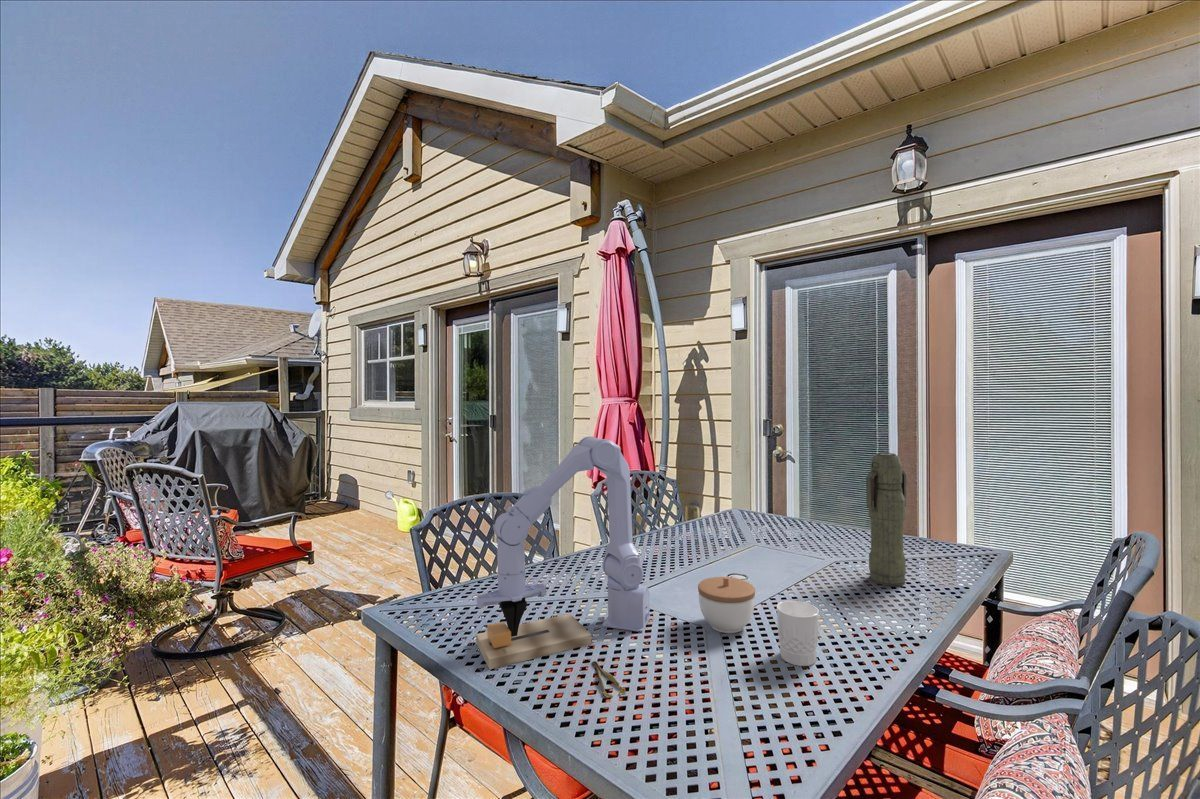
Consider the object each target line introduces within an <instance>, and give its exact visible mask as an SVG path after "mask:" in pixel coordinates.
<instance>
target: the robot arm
mask: <svg viewBox="0 0 1200 799" xmlns="http://www.w3.org/2000/svg"><path fill="white" fill-rule="evenodd" d="M621 450H622V448H621V446H620V445H618V444H616V443H615V442H614V441H612V440H610V439H607V438H606V439H605V438H604V439H603V438H599V437H598V438H597V437H594V436H585V437H583V438H582V439H581V440H579V441H578V443H577V444H576V445H574V446H573V447H571V449H570V451H569V452H568V454H567V455H566V456H565V458H563V460H562V461H561V462H560V463H559V464H558V466H557V467H556V468H554V470H553V471H552V472H551V473H550V474H549V475H548V477H547V478H546V479H545V480H544V481H543V482H542V484H540V485H532V486H531V487H530V488H525V489H524V490H523V492H522V493H523V495H522V496H521V497H520V498H519V499H518V500H517V501H516V502H515V503H514V504H513V505H512V506H511V505H510V506H509V507H508V508H507V509H506V510H507V511H506V512H503V513H501V514H500V515H499V516H497V518H496V520H495V521H494V522H495V523H494V525H492V529H493V532H494V534H495V535H496V536H497V537H496V538H497V540H496V541H497V542H496V543H497V549H496V554H497V557H496V558H497V559H496V560H497V589H496V590H493V591H490V592H488V593H485V594H479V595H476V606H477V609H483V608H485V607H488V606H492V605H497V604H498V605H499V608H500V610H501V612H502V614H503V617H504V618H505V622H506V626H507V627H508V629H509V630H510V631H511V637H513V636H517V634H518V628H519V625H520V623H521V620H522V617H523V614H524V613H525V611H526V610H527V607H528V606H527V605H528V601H526V599H528V598H534V597H538V596H540V597H545V596H547V587H546V585H545V584H544V583H540V584H526V557H525V554H526V553H525V551H526V550H525V540H526V539H527V538H528V535H529V530H530V527H532V526H533V524H535V522H537V521H538V519H539V518H540V517H541V516H542V515H544V513H545V512H546V511H547V510H548V508H550V507H551V506H552V498H553V496H554V495H555V494H556V493H557V492H558V491H559V490H560V489H561V488H563V487H564V485H565V484H566V483H568V482H569V481H570V480H571V479H572V478H573V477H574V476H575V475H576V474H578V472H582V471H583V472H585V471H589V470H594V469H597V470H599V471H600V472H601V473H602V474H604V476H605V477H606V490H607V491H606V492H607V511H608V512H607V513H608V515H607V516H608V534H609V536H608V538H609V539H608V540H609V542H608V544H607V546H605V555H604V558H603V560H602V570H603V573H604V574H605V575H606V576H607V611H608V612H607V615H608V616H607V617H606V619H605V620H604V622H603V623H602V627H603V628H611V629H617V630H624V631H631V632H632V631H633V632H638V633H639V631H640V633H642V632H643V631H644V630H645V628H646V626H647V624H648V623H649V621H650V619H651V615H650V611H651V610H650V590H649V587H648V586H645V585H643V584H642V585H641V582H642V581H643V579H644V573H645V571H644V568H643V566H642V563H641V560H640V554H639V551H638V550H637V548H636V547H635V544H634V543H633V542H634V541H633V540H634V539H633V519H632V518H633V517H632V494H631V493H632V492H631V472H630V471H631V470H630V465H629V464H628V462H627V460H626V458H625V457H624V455H623V454H622V452H621ZM641 631H642V632H641Z"/></svg>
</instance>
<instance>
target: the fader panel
mask: <svg viewBox="0 0 1200 799" xmlns="http://www.w3.org/2000/svg"><path fill="white" fill-rule="evenodd" d="M475 640H476V641H475V644H476V645H477V647H478V650H479V652H480V653H481V654H480V655H482V657H483V660H484V661H485V664H486V665H487V667H488V669H489V670H492V669H493V670H494V669H498V668H502V667H505V666H509V665H514V664H517V663H521V662H526V661H529V660H534V659H537V658H538V659H539V658H541V657H546V656H550V655H553V654H557V653H561V652H565V651H569V650H573V649H578V648H580V647H581V648H582V647H585V646H589V645H590V646H591V645H592V634H591V632H590V631H588V629H587V628H585V627H584V626H583V625H582V623H581V622H579V620H577V619H576V618H575V617H574V616H573V615H572V613H568V614H562V615H558V616H553V617H548V618H544V619H539V620H534V621H530V622H526V623H521V624H519V628H518V634H517V636H513V637H511V644H510V645H506V646H502V647H498V648H494V647H493V646H492V644H491V642H490V640H489V639H488V636H487V631H485V632H479V633H476V635H475Z"/></svg>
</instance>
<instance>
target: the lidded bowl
mask: <svg viewBox="0 0 1200 799" xmlns="http://www.w3.org/2000/svg"><path fill="white" fill-rule="evenodd" d="M697 590H698V591H697V592H698V603H699V607H700V611H701V614H702V616H703V617H704V619H705V621H706V622H707V624H709V625H710V627H711V629H712V630H714V631H715V632H718V633H722V634H736V633H739V632H742V631H743V629H744V627H746V626H747V625H748V624H749V622H750V621H751V619H752V617H753V615H754V611H755V598H756V597H755V596H756V587H754V585H753V584H752V583H750V582H748V581H747V580H743V579H741V578H735V577H731V576H730V577H729V576H715V577H709V578H705V579H703V580H701V581H700V582H699V583H698V584H697Z"/></svg>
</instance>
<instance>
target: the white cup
mask: <svg viewBox="0 0 1200 799" xmlns="http://www.w3.org/2000/svg"><path fill="white" fill-rule="evenodd" d="M819 613H820V611H819V608H818V607H816V606H815V605H813V604H812V603H809V602H806V601H805V602H804V601H801V600H800V601H799V600H784V601H781V602H778V603H777V604H776V614H777V615H776V616H777V617H776V618H777V634H778V643H779V652H780V657H781V659H782V660H783V661H784V662H786V663H788V664H791V665H793V666H794V665H795V666H799V667H808V666H809V667H810V666H813V665H815V663H816V662H817V649H818V648H817V647H818V638H819V616H820V614H819Z"/></svg>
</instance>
